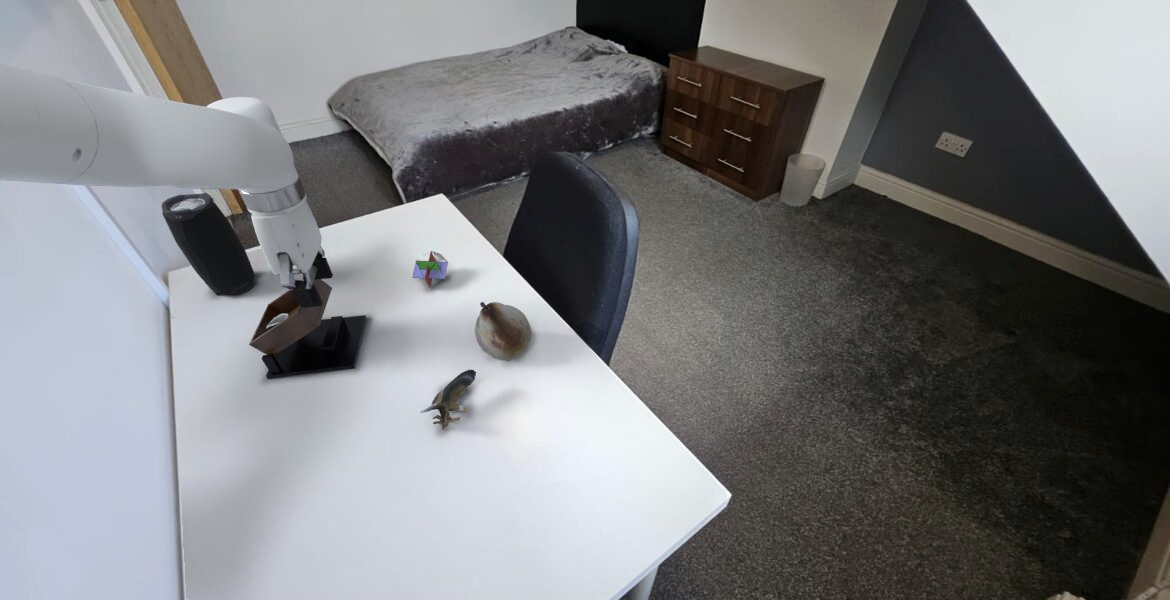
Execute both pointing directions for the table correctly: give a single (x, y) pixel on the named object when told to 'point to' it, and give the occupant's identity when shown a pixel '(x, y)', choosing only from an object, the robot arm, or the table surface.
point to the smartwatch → (277, 320)
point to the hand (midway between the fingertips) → (317, 290)
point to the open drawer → (290, 319)
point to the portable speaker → (209, 243)
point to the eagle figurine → (451, 398)
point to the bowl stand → (320, 349)
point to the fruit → (502, 331)
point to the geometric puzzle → (431, 268)
